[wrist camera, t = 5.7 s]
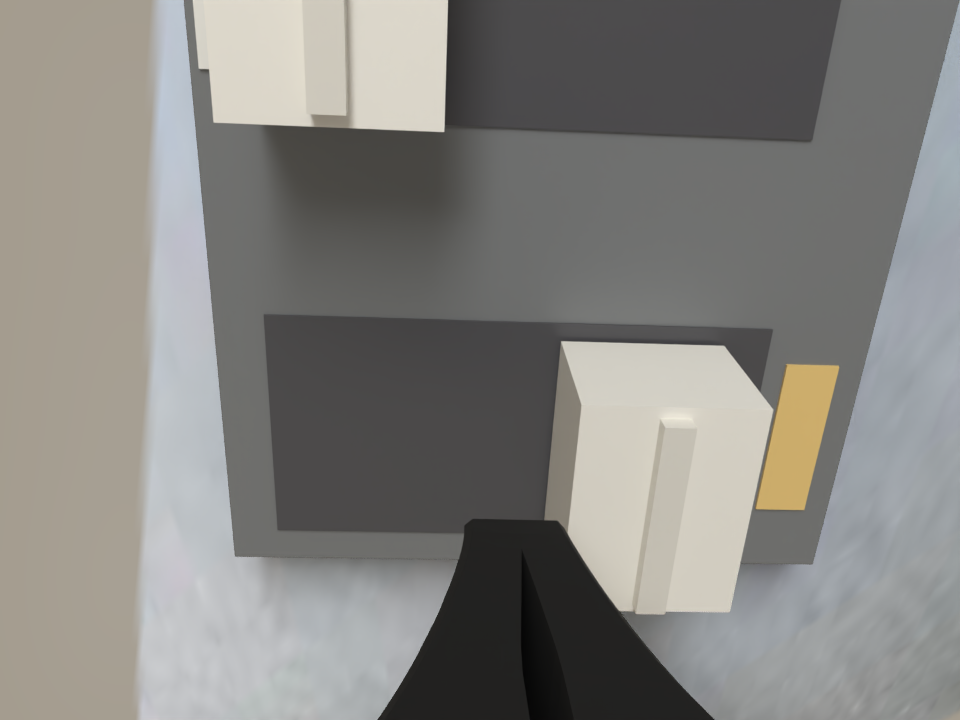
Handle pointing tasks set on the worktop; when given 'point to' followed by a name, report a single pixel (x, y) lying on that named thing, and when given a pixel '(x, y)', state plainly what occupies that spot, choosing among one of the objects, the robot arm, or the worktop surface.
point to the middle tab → (328, 63)
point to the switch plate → (557, 256)
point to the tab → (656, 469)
